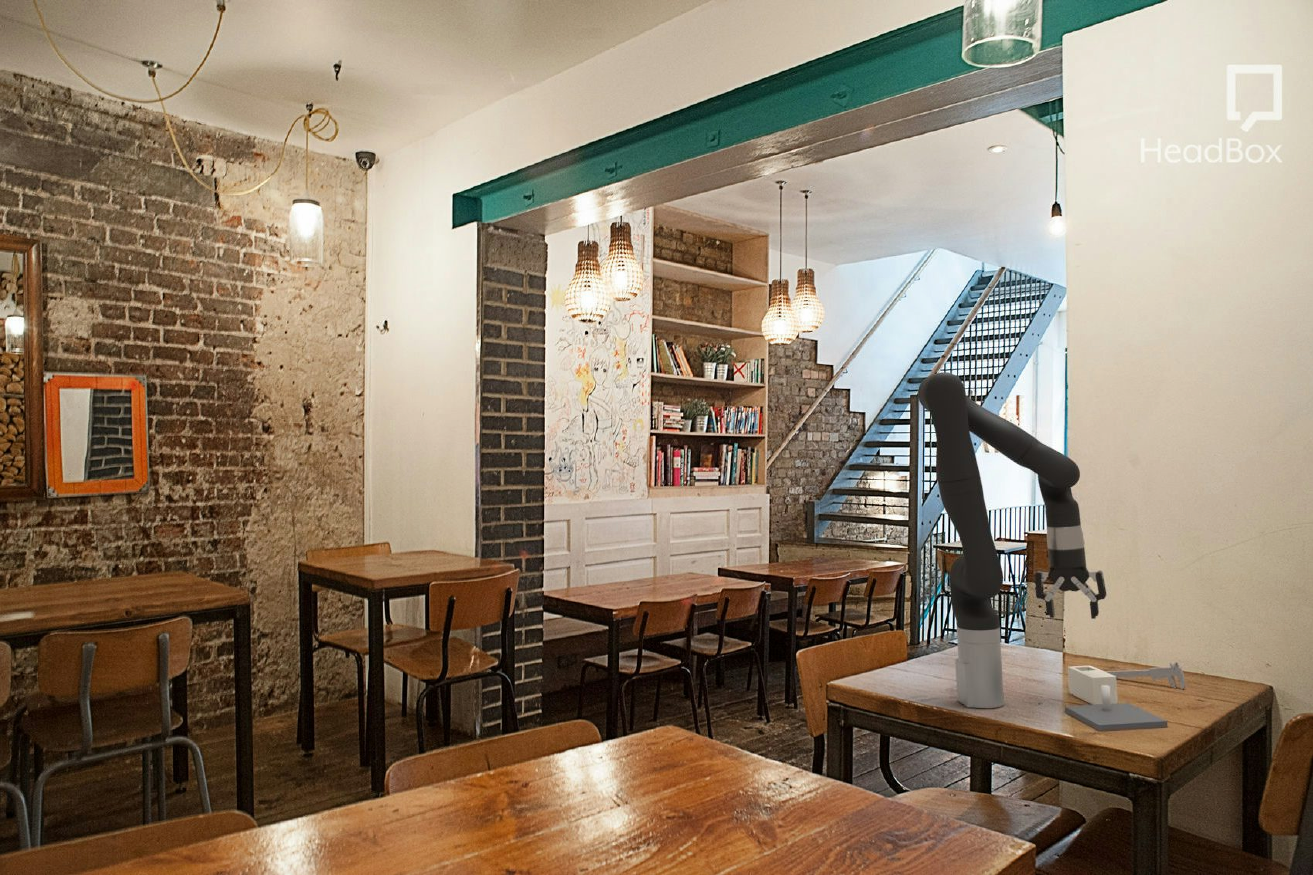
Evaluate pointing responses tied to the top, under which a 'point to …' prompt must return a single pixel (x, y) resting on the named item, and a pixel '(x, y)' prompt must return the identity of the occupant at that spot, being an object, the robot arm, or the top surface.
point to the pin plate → (1114, 715)
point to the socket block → (1091, 684)
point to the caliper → (1156, 674)
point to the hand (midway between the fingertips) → (1073, 617)
